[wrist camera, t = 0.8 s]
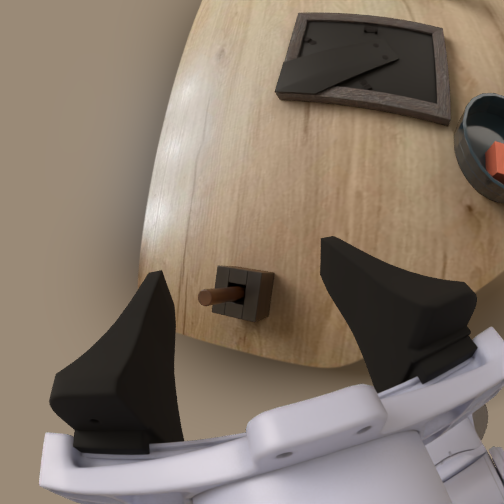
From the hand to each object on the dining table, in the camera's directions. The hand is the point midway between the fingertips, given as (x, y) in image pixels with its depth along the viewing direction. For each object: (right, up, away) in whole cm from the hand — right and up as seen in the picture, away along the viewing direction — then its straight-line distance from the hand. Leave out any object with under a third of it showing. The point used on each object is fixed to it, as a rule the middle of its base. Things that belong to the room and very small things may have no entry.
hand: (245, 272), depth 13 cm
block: (+27, +10, +9) cm, 30 cm away
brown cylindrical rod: (0, -4, +20) cm, 21 cm away
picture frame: (+15, +25, +16) cm, 34 cm away
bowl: (+28, +12, +10) cm, 32 cm away
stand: (0, -4, +20) cm, 21 cm away
